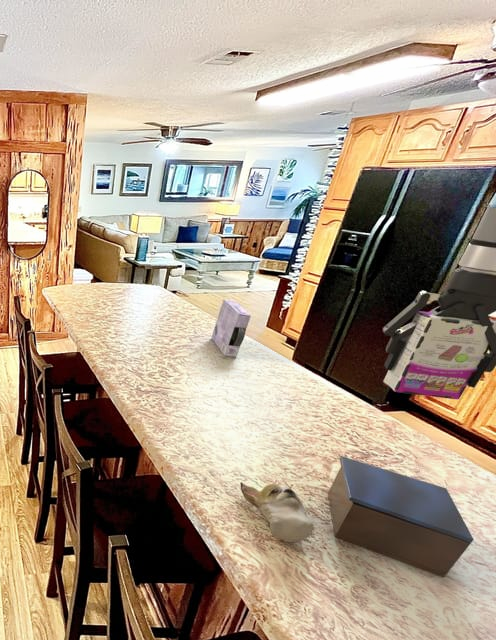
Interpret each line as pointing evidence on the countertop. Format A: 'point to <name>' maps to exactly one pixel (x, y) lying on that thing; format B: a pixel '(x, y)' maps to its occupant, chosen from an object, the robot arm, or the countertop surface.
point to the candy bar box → (439, 356)
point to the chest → (392, 534)
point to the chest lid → (403, 498)
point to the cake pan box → (230, 327)
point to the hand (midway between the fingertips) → (426, 375)
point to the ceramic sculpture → (280, 511)
